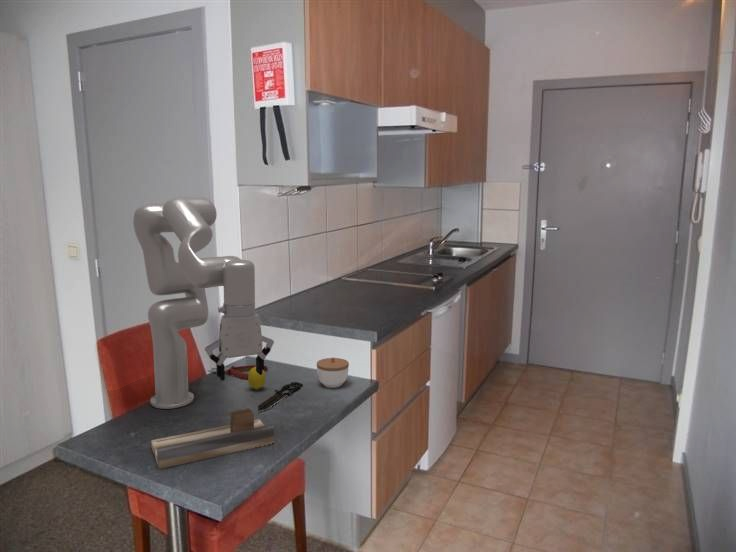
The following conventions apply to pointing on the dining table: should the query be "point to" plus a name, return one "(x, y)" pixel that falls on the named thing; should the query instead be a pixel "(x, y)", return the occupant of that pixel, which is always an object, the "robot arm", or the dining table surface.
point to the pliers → (238, 371)
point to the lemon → (256, 378)
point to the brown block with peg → (241, 420)
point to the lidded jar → (332, 371)
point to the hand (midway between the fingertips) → (240, 375)
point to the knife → (279, 393)
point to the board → (205, 454)
